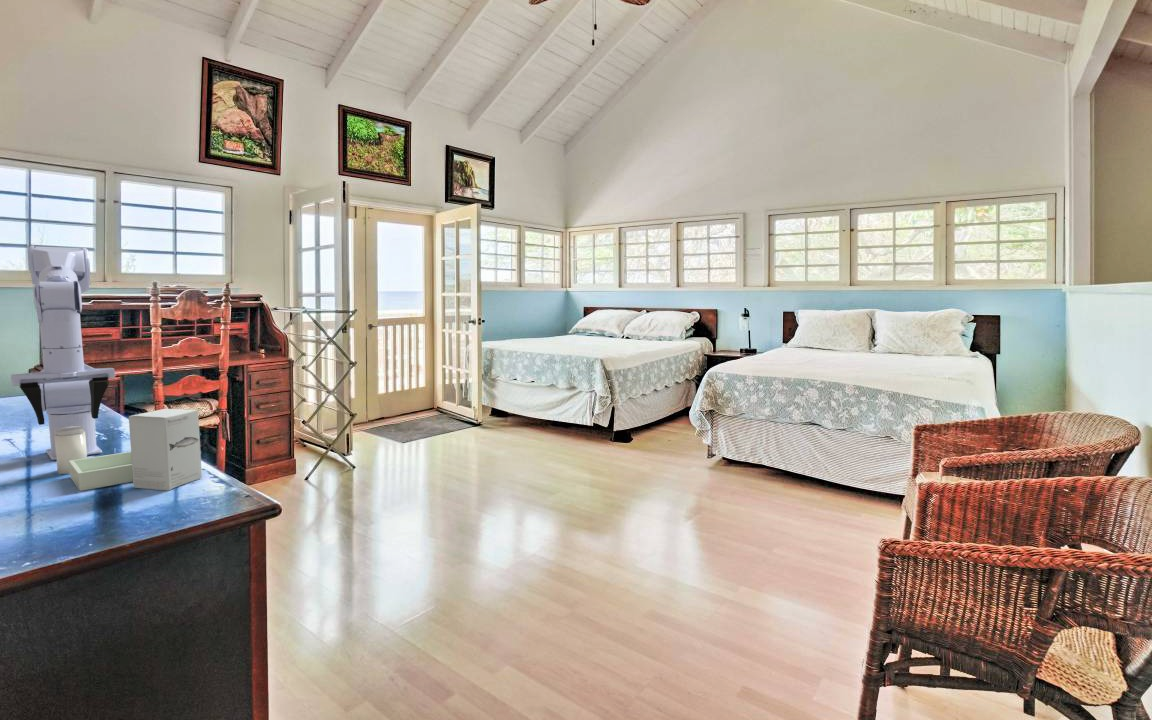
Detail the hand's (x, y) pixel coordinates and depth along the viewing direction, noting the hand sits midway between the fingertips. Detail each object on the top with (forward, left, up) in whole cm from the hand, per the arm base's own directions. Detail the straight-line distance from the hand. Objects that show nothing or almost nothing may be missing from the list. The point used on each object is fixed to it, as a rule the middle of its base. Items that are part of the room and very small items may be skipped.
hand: (68, 420), depth 113 cm
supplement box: (+21, +11, -10) cm, 26 cm away
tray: (+10, +5, -9) cm, 15 cm away
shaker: (0, 0, -9) cm, 9 cm away
